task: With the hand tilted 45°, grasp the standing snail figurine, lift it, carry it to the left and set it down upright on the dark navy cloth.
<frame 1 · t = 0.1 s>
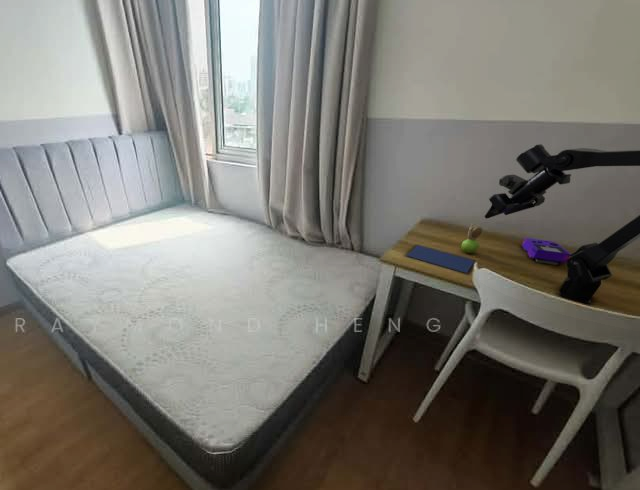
hand: (495, 215, 111), 15 cm above the table, tool tilted 30°, fingers open, 9 cm apart
handheld gaming console: (540, 255, 116), on the table
navy cloth: (439, 258, 116), on the table
snail figurine: (466, 252, 119), on the table
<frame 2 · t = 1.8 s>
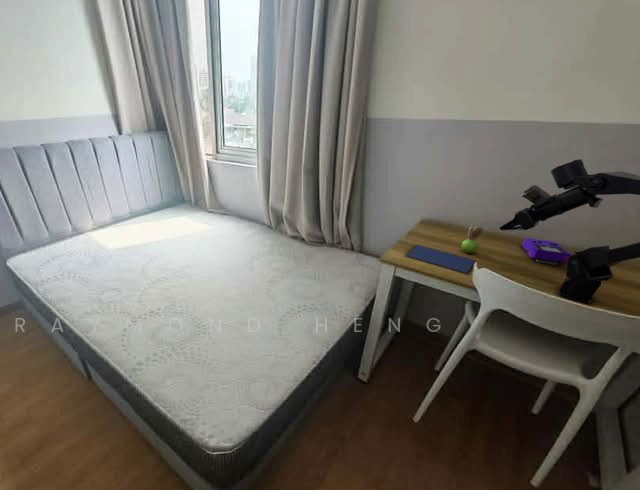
hand: (506, 225, 106), 14 cm above the table, tool tilted 45°, fingers open, 9 cm apart
nothing on the table moved.
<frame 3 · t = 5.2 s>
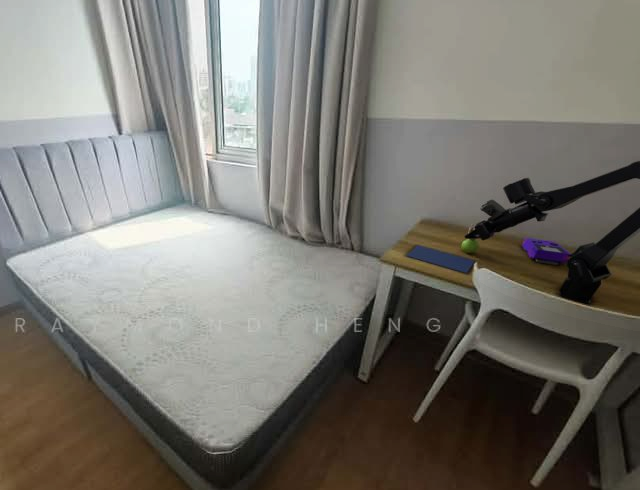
hand: (468, 235, 117), 7 cm above the table, tool tilted 45°, fingers closed on snail figurine, 5 cm apart
snail figurine: (466, 252, 119), on the table, touching gripper
everything else where it was.
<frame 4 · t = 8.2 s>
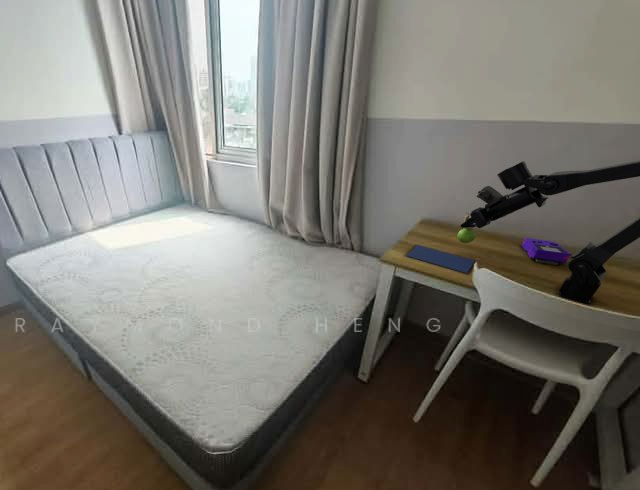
hand: (465, 224, 111), 12 cm above the table, tool tilted 45°, fingers closed on snail figurine, 5 cm apart
snail figurine: (462, 243, 114), point 5 cm above the table, touching gripper
everything else where it was.
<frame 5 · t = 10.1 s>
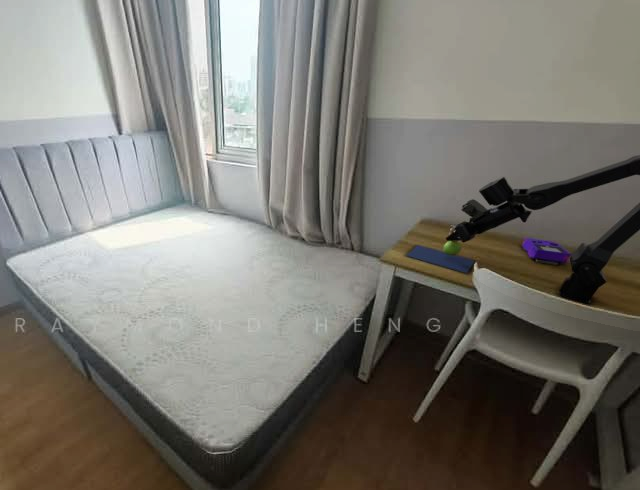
hand: (450, 237, 111), 9 cm above the table, tool tilted 45°, fingers closed on snail figurine, 5 cm apart
snail figurine: (448, 255, 113), point 2 cm above the table, touching gripper
everything else where it was.
when the fingers open (7 cm above the table, at t = 11.2 s): snail figurine stays where it is, resting on navy cloth.
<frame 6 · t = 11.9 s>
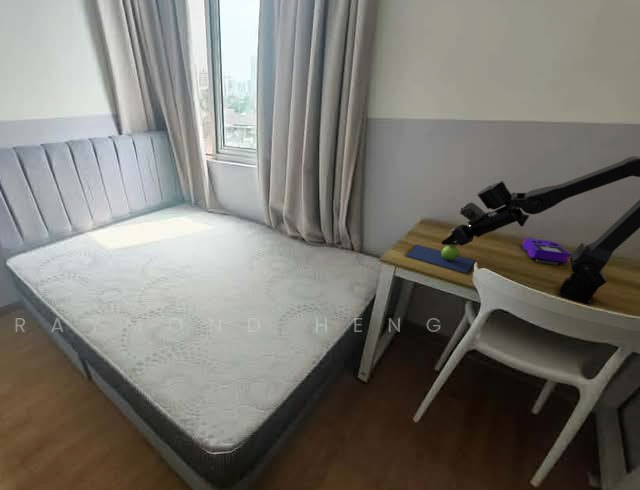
hand: (448, 239, 111), 8 cm above the table, tool tilted 45°, fingers open, 9 cm apart
snail figurine: (446, 260, 114), resting on navy cloth
everything else where it was.
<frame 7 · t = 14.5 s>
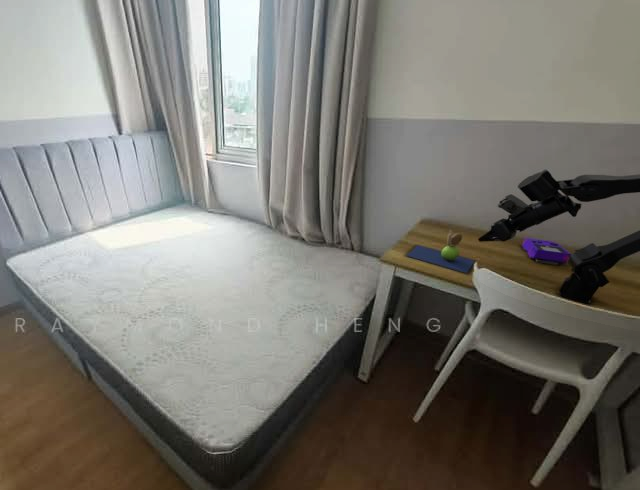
hand: (485, 236, 102), 12 cm above the table, tool tilted 40°, fingers open, 9 cm apart
nothing on the table moved.
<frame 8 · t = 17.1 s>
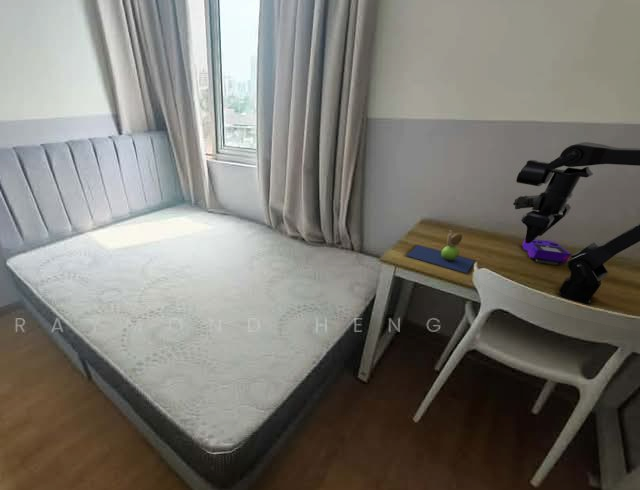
hand: (533, 239, 98), 13 cm above the table, tool pointing down, fingers open, 9 cm apart
nothing on the table moved.
at the end: snail figurine inside the target area on the navy cloth (2.2 cm from its centre), point 0.1 cm above the navy cloth's base; snail figurine tilted 0°; the gripper is holding nothing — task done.
